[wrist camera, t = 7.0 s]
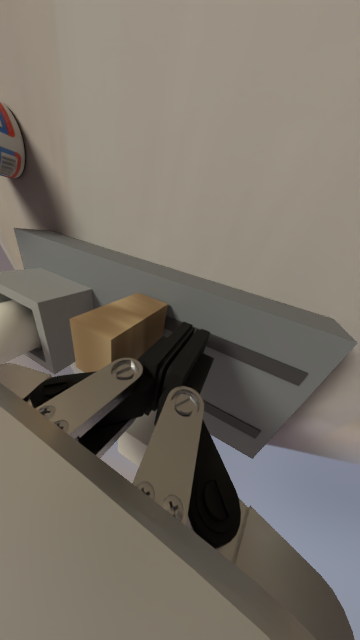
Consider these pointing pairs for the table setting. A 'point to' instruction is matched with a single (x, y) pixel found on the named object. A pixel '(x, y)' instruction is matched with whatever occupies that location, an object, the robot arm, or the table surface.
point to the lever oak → (117, 331)
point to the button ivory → (16, 330)
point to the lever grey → (137, 438)
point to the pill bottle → (10, 145)
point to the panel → (183, 306)
